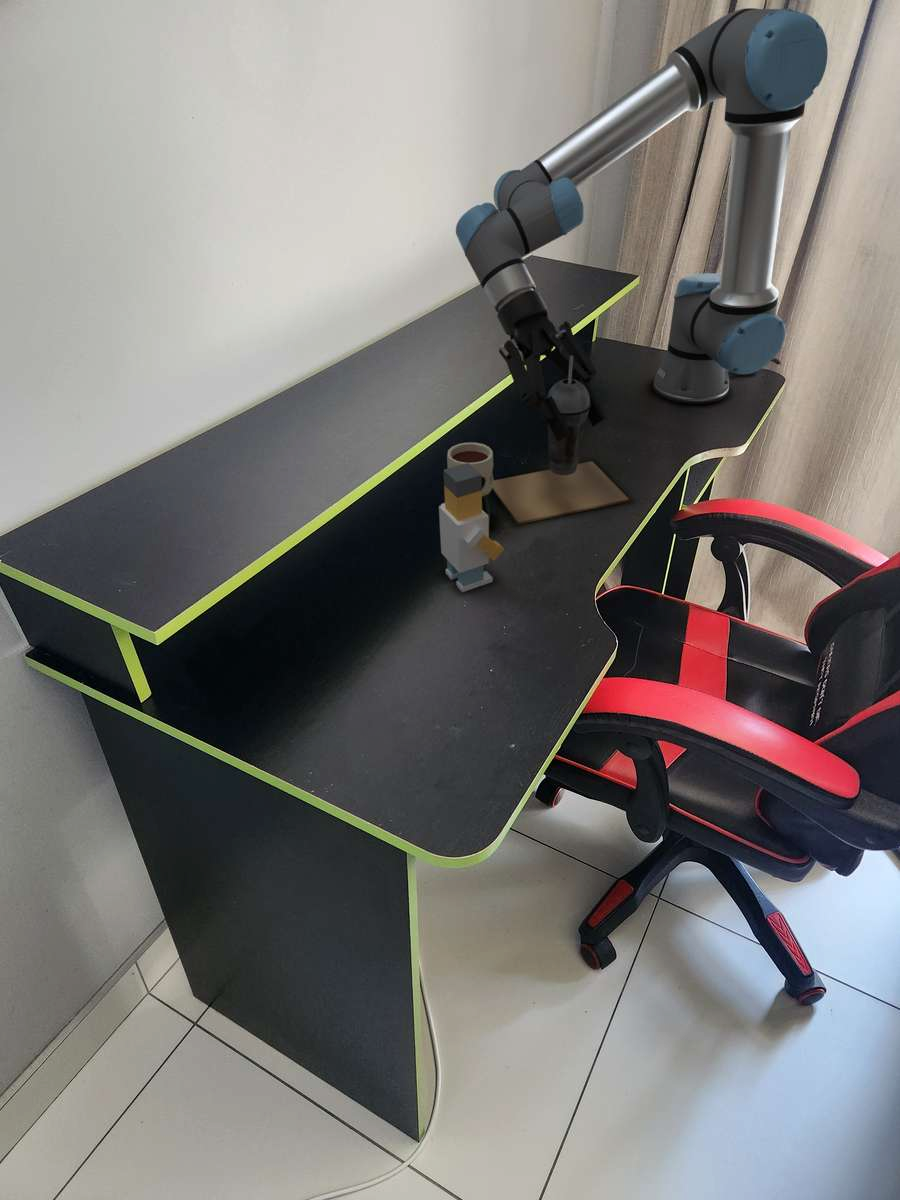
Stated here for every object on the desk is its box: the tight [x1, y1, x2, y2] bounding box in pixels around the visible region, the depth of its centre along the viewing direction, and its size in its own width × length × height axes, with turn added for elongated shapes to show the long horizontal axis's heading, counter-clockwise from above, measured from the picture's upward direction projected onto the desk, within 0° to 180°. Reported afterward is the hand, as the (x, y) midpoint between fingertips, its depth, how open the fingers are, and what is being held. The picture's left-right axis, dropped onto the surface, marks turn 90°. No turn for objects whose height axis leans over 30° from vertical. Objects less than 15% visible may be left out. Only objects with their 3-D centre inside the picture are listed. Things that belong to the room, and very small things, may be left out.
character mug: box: [446, 442, 494, 525], centre depth 123 cm, size 11×7×13 cm, turn 141°
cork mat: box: [491, 460, 630, 526], centre depth 134 cm, size 20×14×1 cm
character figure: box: [438, 463, 505, 593], centre depth 110 cm, size 8×10×18 cm
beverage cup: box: [546, 356, 591, 475], centre depth 125 cm, size 7×7×20 cm
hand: (581, 429), depth 124 cm, fingers closed on beverage cup, 7 cm apart
